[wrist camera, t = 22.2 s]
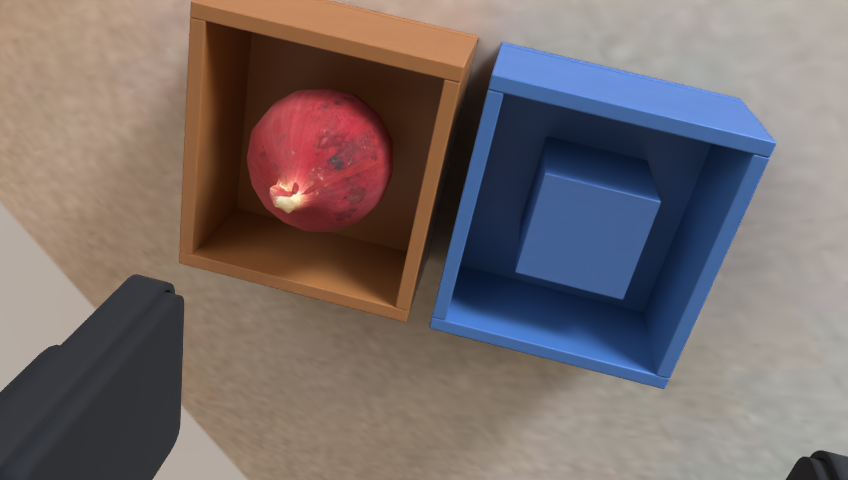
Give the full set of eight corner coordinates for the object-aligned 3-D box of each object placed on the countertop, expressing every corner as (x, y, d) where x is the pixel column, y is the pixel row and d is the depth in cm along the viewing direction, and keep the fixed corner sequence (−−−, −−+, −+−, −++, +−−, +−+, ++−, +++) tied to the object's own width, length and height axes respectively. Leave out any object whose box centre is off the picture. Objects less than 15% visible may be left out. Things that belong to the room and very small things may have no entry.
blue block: (546, 135, 32) (544, 173, 28) (648, 160, 32) (661, 201, 28) (519, 225, 34) (514, 273, 30) (614, 250, 34) (623, 300, 30)
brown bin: (247, -20, 31) (190, 1, 27) (478, 36, 31) (464, 66, 26) (229, 210, 37) (178, 263, 32) (426, 261, 36) (406, 322, 31)
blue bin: (501, 41, 31) (491, 73, 26) (741, 98, 30) (777, 142, 25) (446, 266, 36) (428, 328, 31) (649, 318, 36) (665, 390, 31)
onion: (369, 46, 31) (315, 96, 24) (429, 162, 33) (396, 240, 26) (259, 101, 33) (179, 163, 26) (322, 208, 35) (264, 293, 28)
